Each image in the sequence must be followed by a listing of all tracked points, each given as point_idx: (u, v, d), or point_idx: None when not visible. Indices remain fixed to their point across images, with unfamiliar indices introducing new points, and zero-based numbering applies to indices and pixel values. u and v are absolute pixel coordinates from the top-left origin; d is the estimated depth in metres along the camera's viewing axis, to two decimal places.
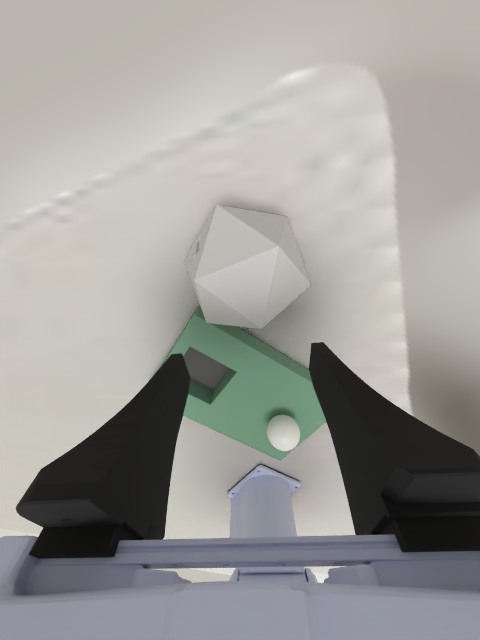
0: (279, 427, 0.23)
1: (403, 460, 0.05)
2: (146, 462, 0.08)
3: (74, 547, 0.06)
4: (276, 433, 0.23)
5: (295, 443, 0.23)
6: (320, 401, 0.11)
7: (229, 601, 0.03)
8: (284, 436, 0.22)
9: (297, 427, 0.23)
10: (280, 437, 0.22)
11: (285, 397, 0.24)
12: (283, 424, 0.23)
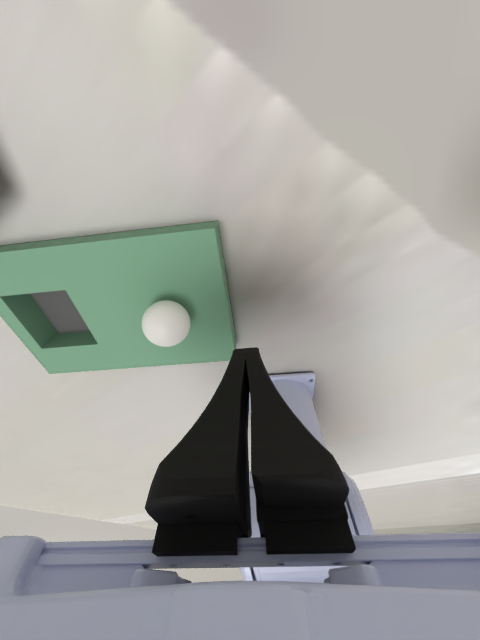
0: (142, 319, 0.16)
1: (261, 466, 0.06)
2: (243, 458, 0.08)
3: (197, 544, 0.06)
4: (142, 328, 0.16)
5: (169, 325, 0.15)
6: None
7: (229, 601, 0.03)
8: (147, 326, 0.15)
9: (167, 306, 0.16)
10: (145, 330, 0.15)
11: (142, 282, 0.17)
12: (145, 313, 0.16)
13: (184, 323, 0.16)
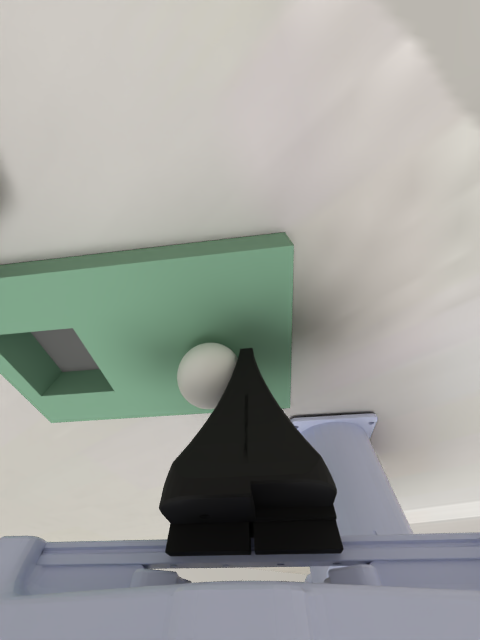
0: (179, 371, 0.11)
1: (250, 466, 0.06)
2: None
3: (211, 544, 0.06)
4: (178, 384, 0.11)
5: (217, 386, 0.10)
6: None
7: (229, 601, 0.03)
8: (185, 384, 0.11)
9: (214, 355, 0.11)
10: (183, 388, 0.11)
11: (180, 317, 0.12)
12: (183, 362, 0.11)
13: None
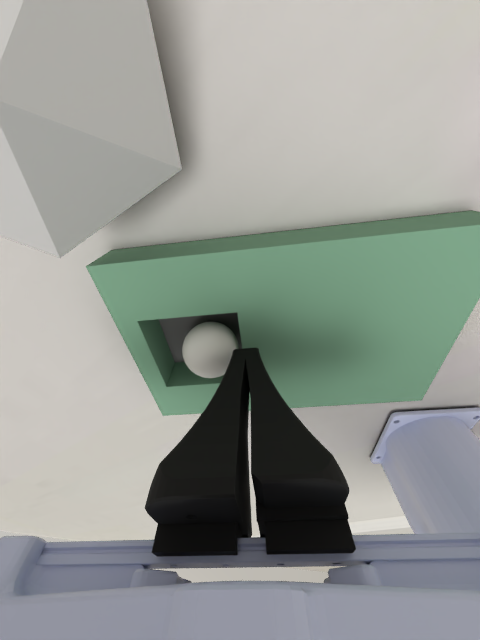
0: (202, 358, 0.12)
1: (261, 465, 0.06)
2: (243, 458, 0.08)
3: (197, 545, 0.06)
4: (208, 367, 0.12)
5: (234, 340, 0.13)
6: None
7: (229, 601, 0.03)
8: (218, 356, 0.12)
9: (214, 326, 0.13)
10: (217, 363, 0.12)
11: (357, 301, 0.11)
12: (200, 349, 0.12)
13: None
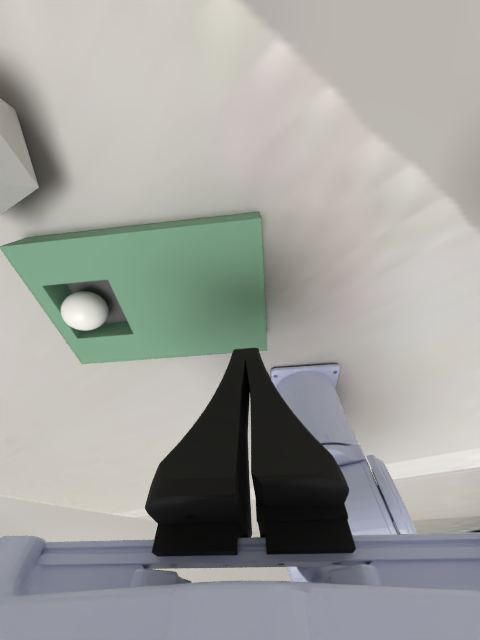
0: (61, 309, 0.19)
1: (261, 465, 0.06)
2: (243, 458, 0.08)
3: (197, 544, 0.06)
4: (62, 317, 0.19)
5: (81, 311, 0.18)
6: None
7: (229, 601, 0.03)
8: (63, 314, 0.18)
9: (79, 295, 0.19)
10: (63, 317, 0.19)
11: (184, 271, 0.17)
12: (62, 303, 0.19)
13: (97, 308, 0.19)
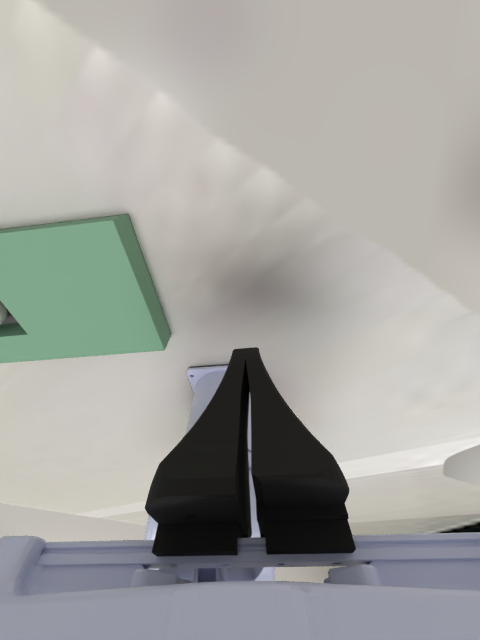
0: None
1: (261, 465, 0.06)
2: (243, 458, 0.08)
3: (197, 544, 0.06)
4: None
5: None
6: None
7: (229, 601, 0.03)
8: None
9: None
10: None
11: (56, 273, 0.17)
12: None
13: None
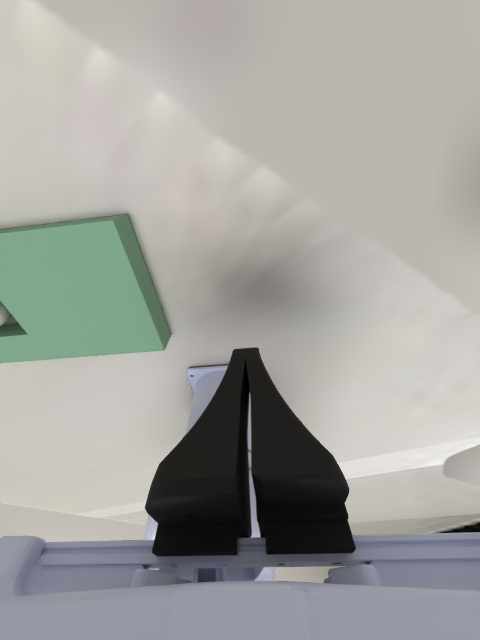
0: None
1: (261, 465, 0.06)
2: (243, 458, 0.08)
3: (197, 544, 0.06)
4: None
5: None
6: None
7: (229, 601, 0.03)
8: None
9: None
10: None
11: (56, 273, 0.17)
12: None
13: None
